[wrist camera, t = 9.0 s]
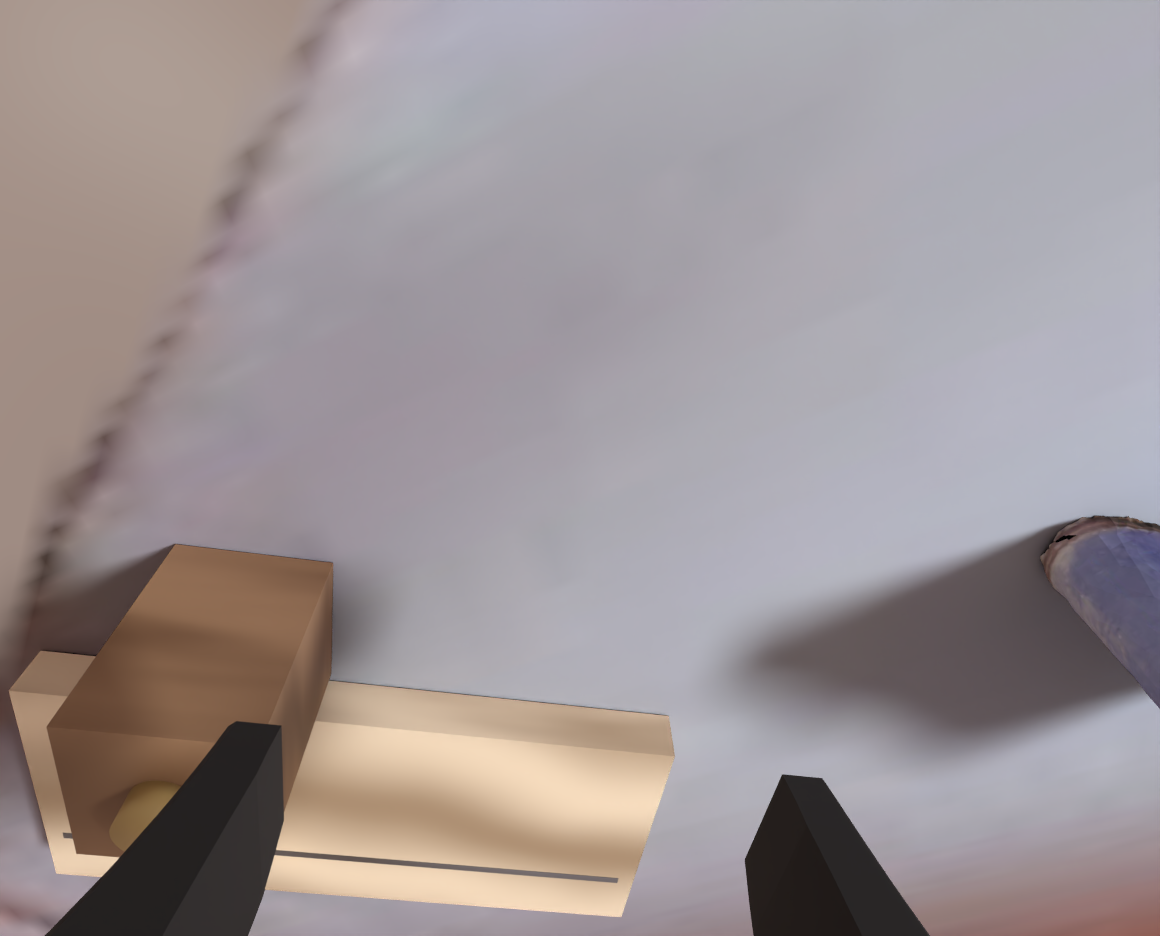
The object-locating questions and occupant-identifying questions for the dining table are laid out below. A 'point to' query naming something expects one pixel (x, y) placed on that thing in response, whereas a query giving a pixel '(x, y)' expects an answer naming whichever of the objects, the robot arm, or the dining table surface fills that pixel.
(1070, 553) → the flask
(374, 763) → the board
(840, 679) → the dining table surface
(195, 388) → the dining table surface
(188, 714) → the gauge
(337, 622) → the dining table surface
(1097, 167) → the dining table surface
